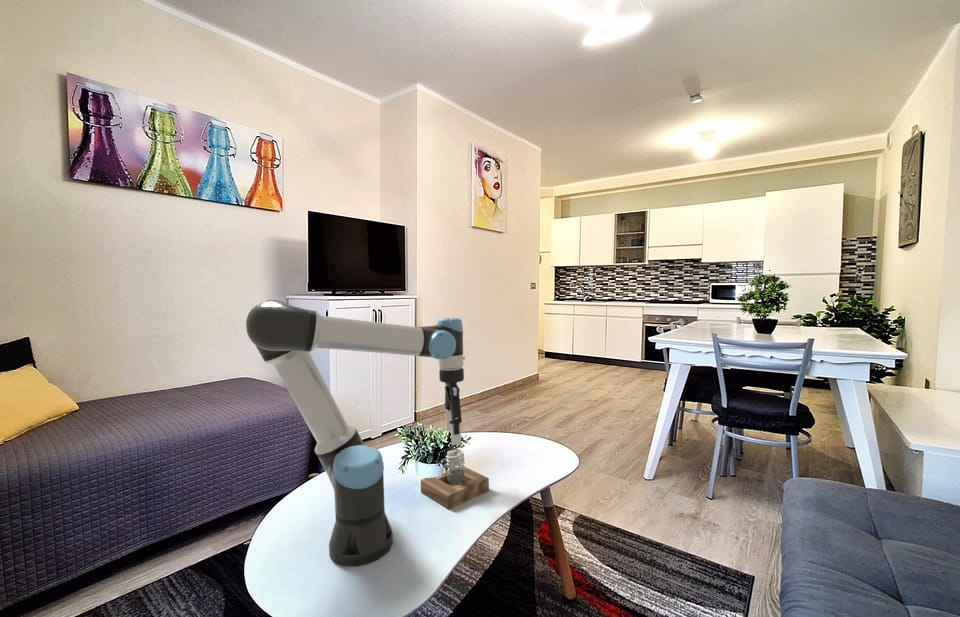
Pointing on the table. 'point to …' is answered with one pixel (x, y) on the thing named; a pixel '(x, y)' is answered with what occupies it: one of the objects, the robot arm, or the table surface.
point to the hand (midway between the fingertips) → (453, 436)
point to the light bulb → (455, 473)
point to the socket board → (454, 488)
